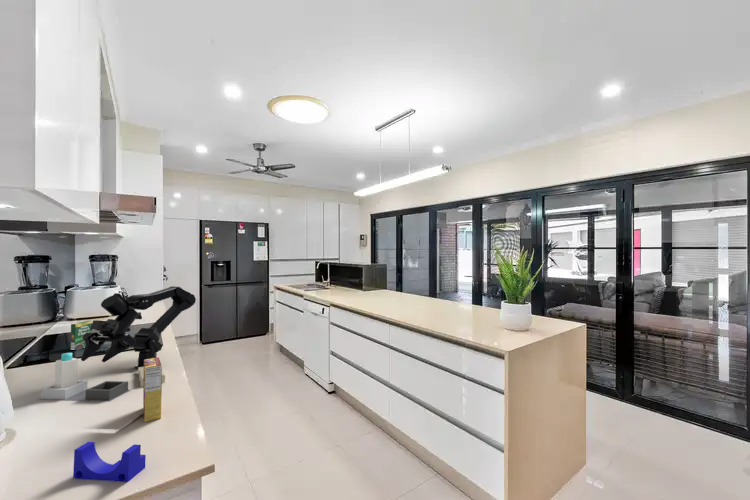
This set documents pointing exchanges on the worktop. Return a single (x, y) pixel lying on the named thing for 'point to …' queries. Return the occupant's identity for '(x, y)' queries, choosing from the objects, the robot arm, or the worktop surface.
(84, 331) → the coffee box
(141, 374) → the electrical outlet
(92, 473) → the blue cradle bracket
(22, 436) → the worktop surface
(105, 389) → the grey long flat tray
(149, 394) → the candy box
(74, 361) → the plug
